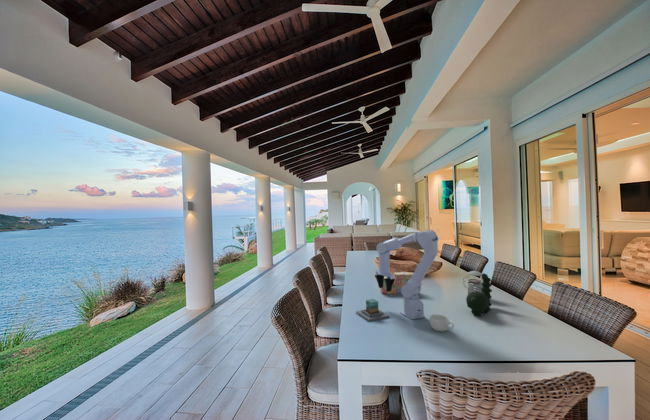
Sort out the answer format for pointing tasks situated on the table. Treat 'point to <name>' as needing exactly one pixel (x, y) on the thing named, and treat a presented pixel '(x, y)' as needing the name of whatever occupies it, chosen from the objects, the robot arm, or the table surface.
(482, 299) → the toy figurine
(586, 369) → the table surface
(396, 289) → the stack of blocks
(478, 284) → the french press
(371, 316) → the plate
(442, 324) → the teacup
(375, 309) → the block stack
